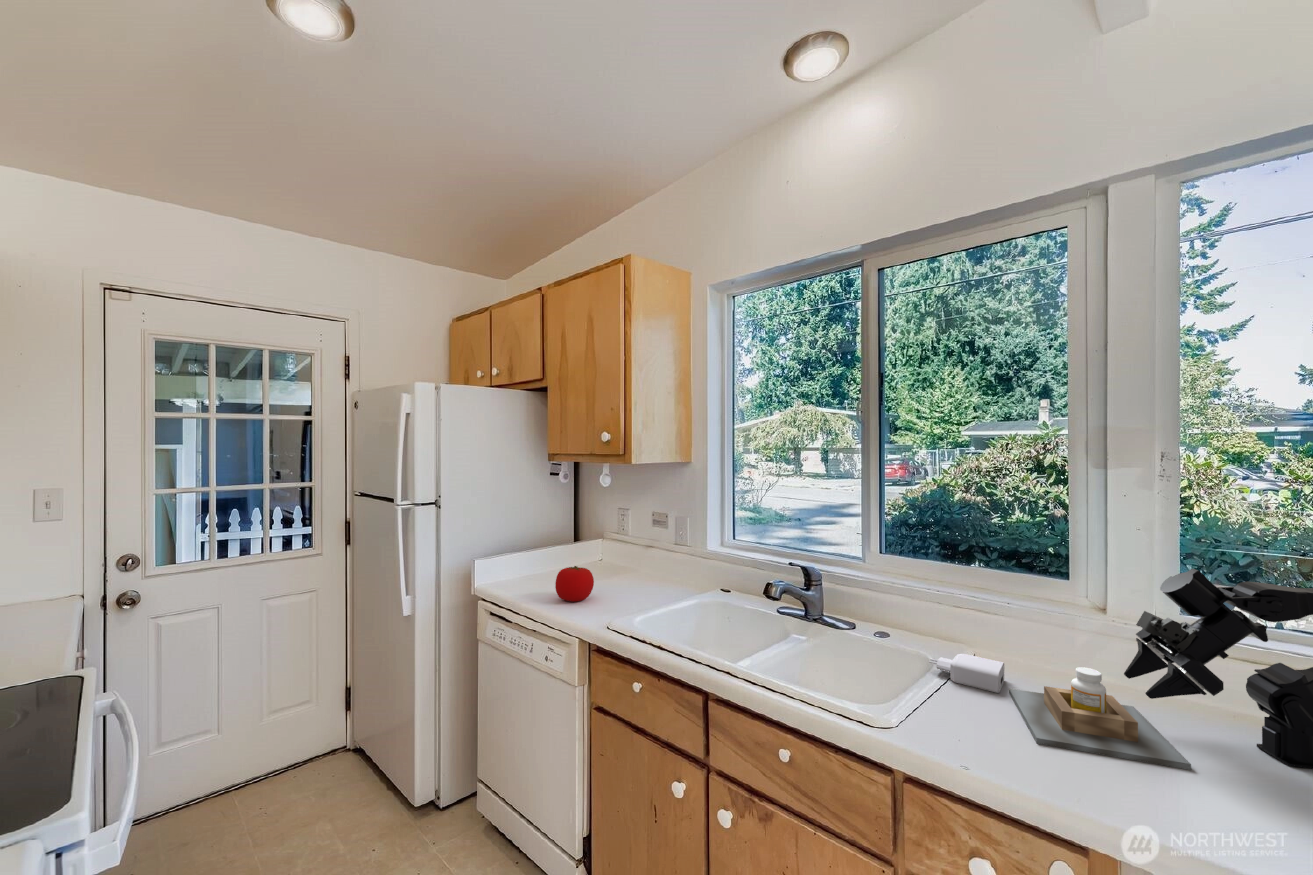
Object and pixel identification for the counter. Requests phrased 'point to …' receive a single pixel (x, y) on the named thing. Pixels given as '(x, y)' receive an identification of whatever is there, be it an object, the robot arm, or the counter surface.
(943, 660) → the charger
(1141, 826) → the counter surface
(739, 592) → the counter surface
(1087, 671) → the supplement bottle
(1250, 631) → the robot arm
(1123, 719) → the socket block
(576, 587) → the tomato
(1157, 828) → the counter surface
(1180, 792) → the counter surface
